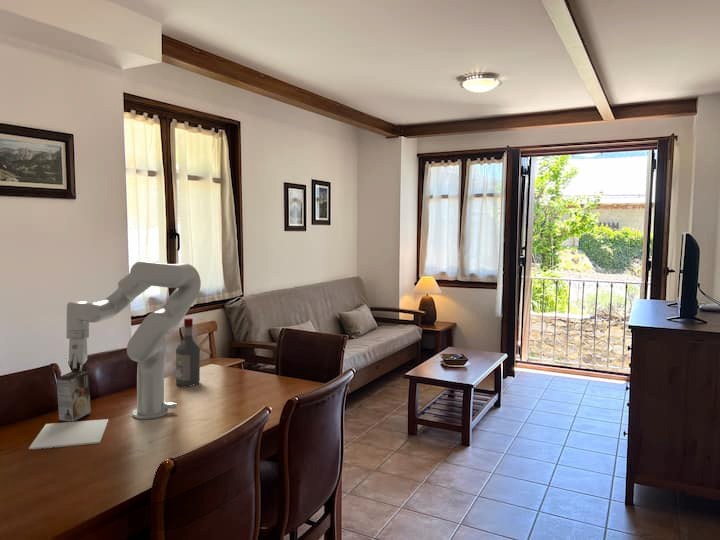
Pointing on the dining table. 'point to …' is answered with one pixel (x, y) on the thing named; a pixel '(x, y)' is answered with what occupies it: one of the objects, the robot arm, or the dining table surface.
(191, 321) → the liquor
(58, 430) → the mat
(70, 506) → the dining table surface
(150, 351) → the robot arm
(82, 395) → the coffee box
